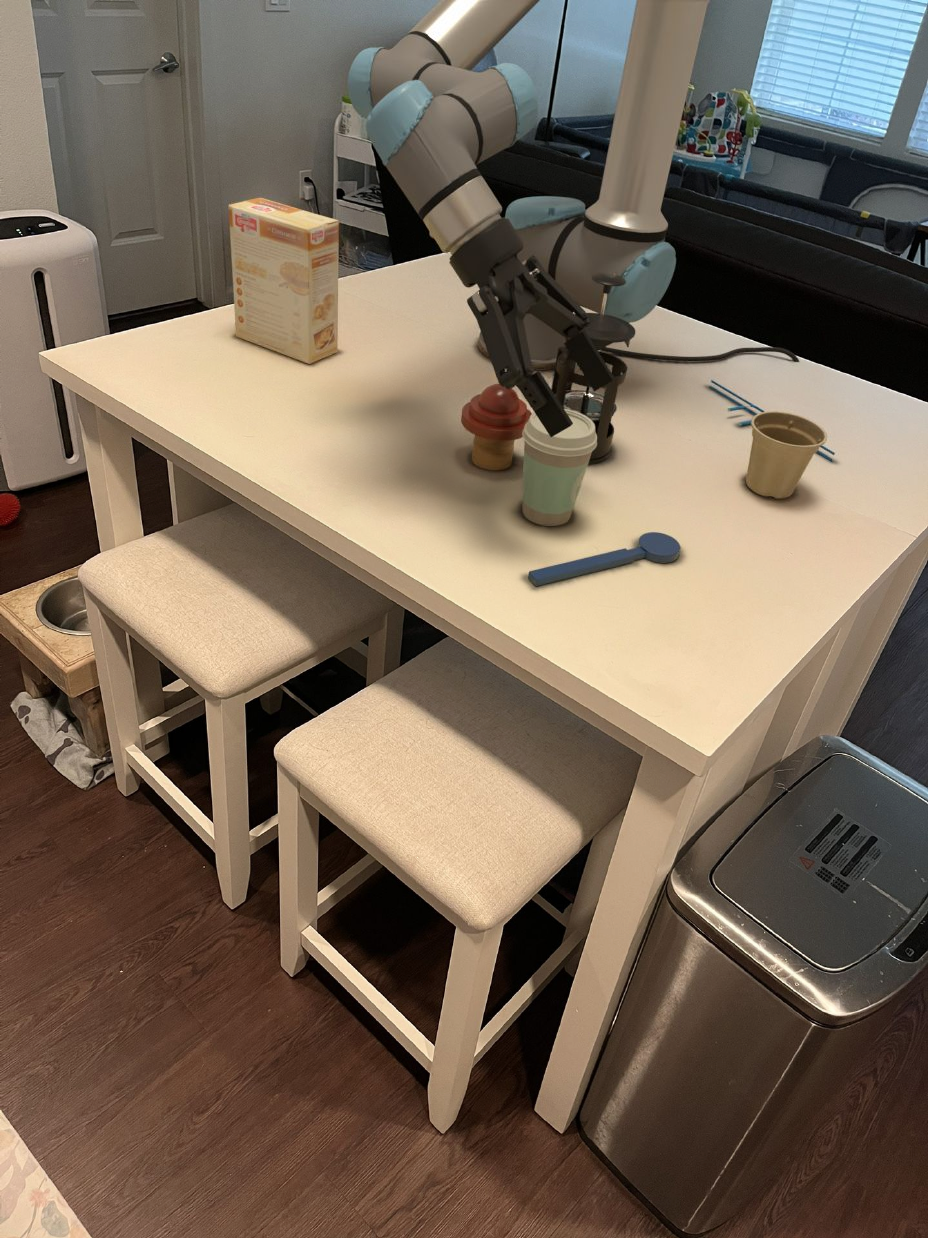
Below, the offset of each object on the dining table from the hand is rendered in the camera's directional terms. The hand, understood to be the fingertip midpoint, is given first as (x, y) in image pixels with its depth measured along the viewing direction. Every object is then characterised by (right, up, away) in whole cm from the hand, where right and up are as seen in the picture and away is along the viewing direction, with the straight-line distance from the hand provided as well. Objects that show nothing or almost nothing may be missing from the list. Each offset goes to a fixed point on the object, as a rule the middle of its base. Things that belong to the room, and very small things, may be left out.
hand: (584, 406), depth 102 cm
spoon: (+3, -17, +2) cm, 17 cm away
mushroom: (-10, -3, +19) cm, 21 cm away
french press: (+2, 0, +24) cm, 24 cm away
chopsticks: (+30, +5, +35) cm, 46 cm away
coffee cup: (-3, -11, +10) cm, 15 cm away
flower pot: (+27, -6, +20) cm, 34 cm away
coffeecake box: (-41, +19, +41) cm, 61 cm away
